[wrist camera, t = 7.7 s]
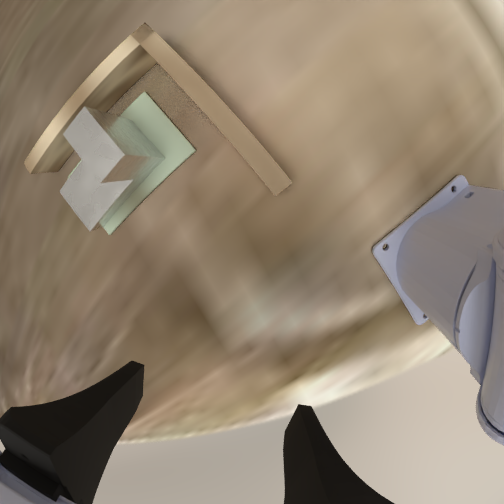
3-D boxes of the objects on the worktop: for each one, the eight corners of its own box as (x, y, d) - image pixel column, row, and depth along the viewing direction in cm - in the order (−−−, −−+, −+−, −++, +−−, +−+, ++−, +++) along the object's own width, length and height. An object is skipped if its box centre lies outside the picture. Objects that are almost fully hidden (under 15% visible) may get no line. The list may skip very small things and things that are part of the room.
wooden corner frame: (162, 41, 17) (144, 22, 14) (289, 181, 19) (292, 182, 16) (51, 161, 20) (23, 162, 17) (152, 293, 22) (133, 313, 19)
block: (131, 119, 19) (84, 106, 13) (165, 157, 19) (124, 154, 13) (74, 189, 20) (22, 198, 14) (104, 226, 21) (55, 245, 15)
